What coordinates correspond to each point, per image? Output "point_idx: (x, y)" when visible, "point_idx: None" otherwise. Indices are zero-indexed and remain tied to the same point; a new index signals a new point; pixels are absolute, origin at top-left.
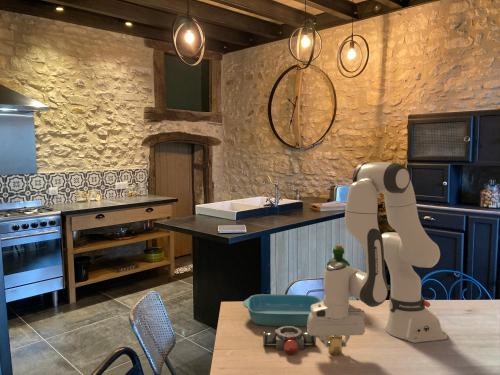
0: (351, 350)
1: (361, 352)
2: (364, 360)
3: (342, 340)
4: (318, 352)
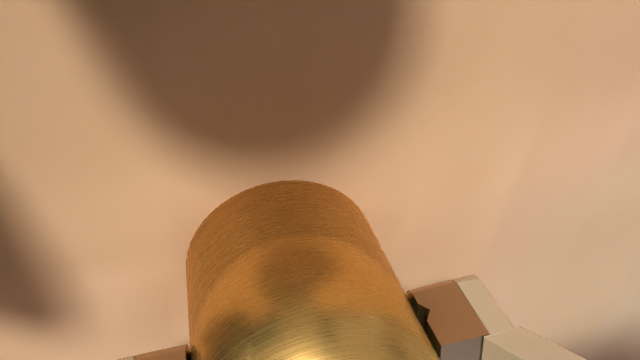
0: (519, 160)
1: (621, 184)
2: (572, 327)
3: (459, 354)
4: (23, 310)
